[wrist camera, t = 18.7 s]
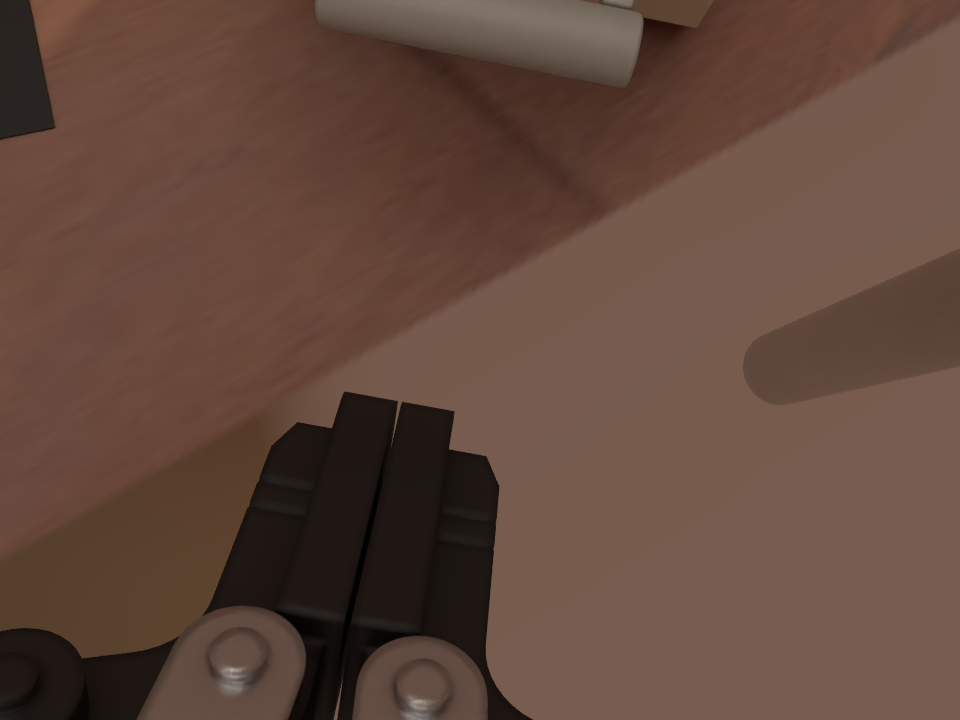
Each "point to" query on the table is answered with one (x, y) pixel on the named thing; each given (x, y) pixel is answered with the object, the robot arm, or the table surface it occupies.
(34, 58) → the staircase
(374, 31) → the drawer
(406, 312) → the table surface
